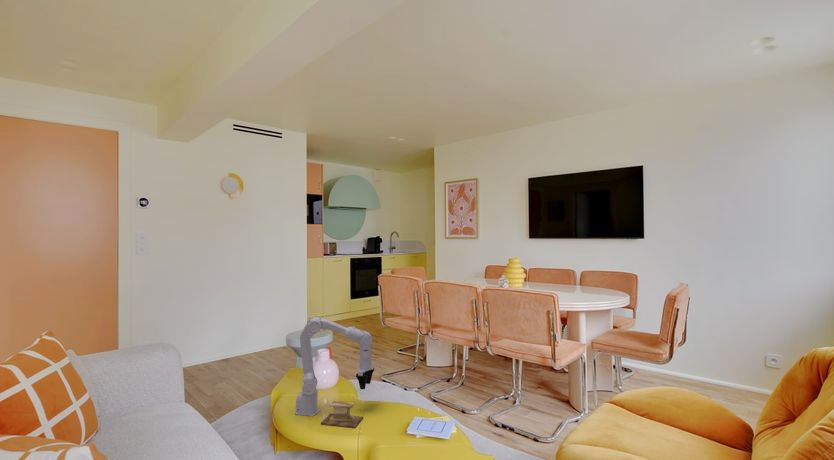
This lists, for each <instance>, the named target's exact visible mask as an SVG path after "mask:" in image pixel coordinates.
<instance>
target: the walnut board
mask: <svg viewBox="0 0 834 460" xmlns="http://www.w3.org/2000/svg"><path fill="white" fill-rule="evenodd" d="M333 414H334V413H329V414H328V415H327V416H326V417H325V418H324V419H323V420H322V421H321V422H320V425H321V426H329V427H340V428H346V429H347V428H350V429H356V428H357V427H358V426H359V424H361V422H362V420H364V416H362V415H361V416H360V415H351V414H350V416H353V417H354V420H353V421H352V422H351V423H349V422H340V421H330V417H331V416H332V415H333Z"/></svg>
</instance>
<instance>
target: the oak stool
mask: <svg viewBox="0 0 834 460" xmlns="http://www.w3.org/2000/svg"><path fill="white" fill-rule="evenodd" d="M354 406H355V403H354V402H348V401H347V402H346V401H337V400H333V401H331V403H329V407H331V408H333V413H332V414H333V415H332V416H331V417H330V421H340V422H349V423H351V422H352V421H353V420H354V417H353V416H354V415H351V409H352V408H353V407H354ZM350 415H351V416H350Z"/></svg>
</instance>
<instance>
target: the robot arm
mask: <svg viewBox="0 0 834 460" xmlns="http://www.w3.org/2000/svg"><path fill="white" fill-rule="evenodd" d="M326 330H330V331H332V332H333V331H334V332H336V333H339V334H342V335H344V337H345V339H347V340H351V341H352V342H356V343H359V344H360V348H359V367H358V371H357V372H358V373H356V375H355V377H356V379H357V381H358V384H359V388H360V389H359V390H365V389H366V386H367V385H371V382H372V376H373V375H374V371H375V367H374V366H373V362H372V350H373V349H372V343H373V338H372V335H371V333H370V332H368V331H367V330H366V331H365V330H363V329H361V330H360V329H358V328H356V326H354V325H352V326H351V325H350V326H348V327H346V326H343V325H341V324H339V323H337V322H334V321H333V320H329V319H327V318H324V317H320V316H318V315H317V316H312V317H311V318H310V319H309V320H307V322H306V324H305V326H304V327H303V330H302V332H301V333H300V335H299V343H300V353H301V361H302V372H303V381H302V382H303V384H302V388H301V391H300V392H298V393H297V395H296V398H295V413H294V415H298V416H306V417H314V416H316V415H317V414H318V413H319V412H320V411H321V408H320V407H318V400H319V399H318V398H319V395H318V389H317V386H318V379H317V377H316V375H315V370H314V362H313V353H312V344H311V343H312V342H311V338H313V337H314V335H316V334H317V333H319V332H321V331H322V332H323V331H326Z"/></svg>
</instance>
